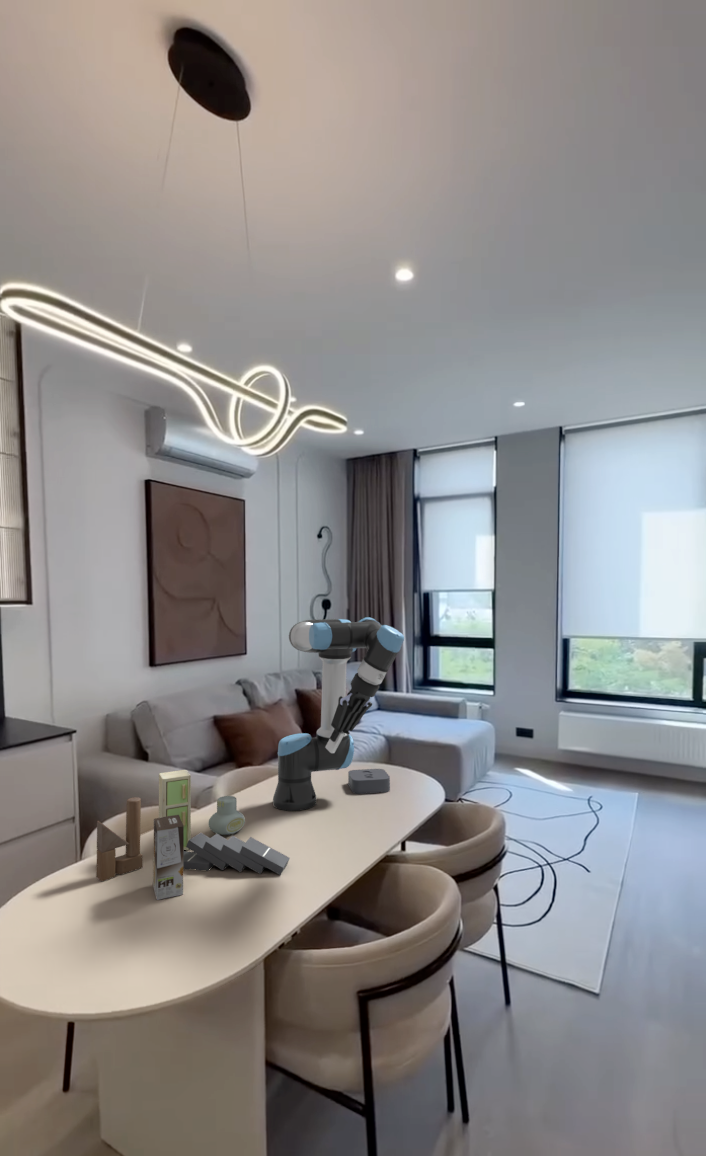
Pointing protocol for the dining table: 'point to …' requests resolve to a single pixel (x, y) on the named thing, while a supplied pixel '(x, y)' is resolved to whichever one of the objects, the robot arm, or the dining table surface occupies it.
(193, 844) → the domino
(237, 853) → the domino
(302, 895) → the dining table surface
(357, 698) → the robot arm
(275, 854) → the domino
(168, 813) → the toy refrigerator
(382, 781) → the streaming box
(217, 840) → the domino
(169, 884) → the coffee box
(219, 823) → the air freshener
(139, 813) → the brown angular blocky piece
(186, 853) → the domino
